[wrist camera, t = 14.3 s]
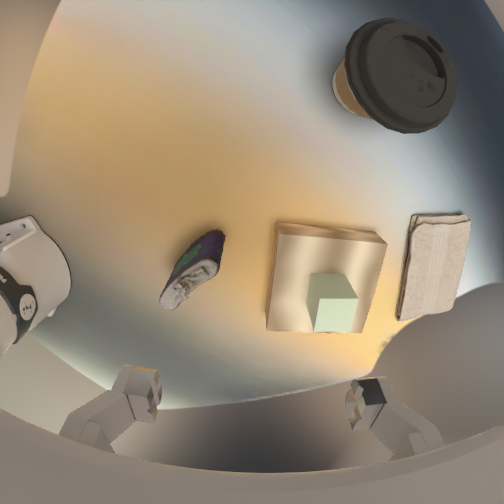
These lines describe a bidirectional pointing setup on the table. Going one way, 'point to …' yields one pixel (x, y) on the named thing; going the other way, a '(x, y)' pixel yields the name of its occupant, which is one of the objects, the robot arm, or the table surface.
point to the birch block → (319, 271)
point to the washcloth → (432, 264)
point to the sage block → (331, 302)
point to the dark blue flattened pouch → (193, 268)
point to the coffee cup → (396, 76)
